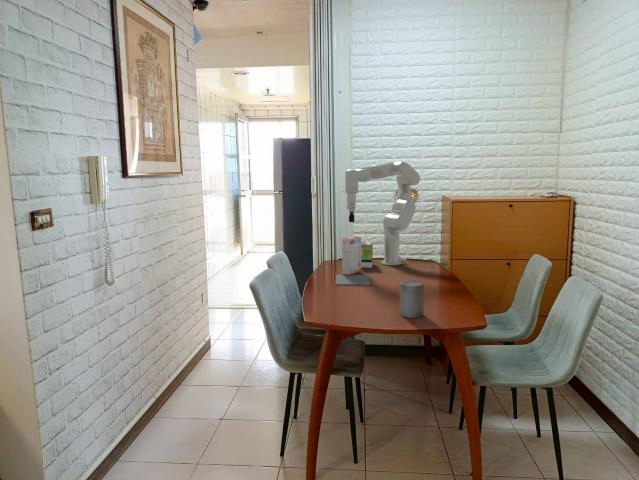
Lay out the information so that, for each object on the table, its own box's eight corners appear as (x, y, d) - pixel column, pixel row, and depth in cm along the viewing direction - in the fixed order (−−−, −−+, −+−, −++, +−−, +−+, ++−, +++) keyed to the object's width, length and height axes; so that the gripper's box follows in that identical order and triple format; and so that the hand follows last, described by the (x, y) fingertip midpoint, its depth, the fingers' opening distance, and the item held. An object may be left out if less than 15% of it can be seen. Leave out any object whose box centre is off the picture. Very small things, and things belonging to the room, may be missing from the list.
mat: (367, 275, 266) (367, 274, 266) (370, 285, 244) (370, 284, 244) (336, 275, 267) (336, 274, 267) (335, 285, 245) (335, 284, 245)
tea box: (372, 267, 288) (373, 244, 285) (356, 268, 288) (356, 244, 286) (370, 263, 303) (370, 240, 300) (355, 263, 303) (355, 240, 301)
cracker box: (352, 271, 278) (352, 236, 276) (361, 272, 275) (361, 236, 273) (341, 274, 266) (341, 238, 264) (350, 275, 263) (351, 238, 261)
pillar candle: (420, 311, 199) (420, 276, 196) (426, 318, 189) (426, 281, 187) (397, 311, 198) (397, 277, 196) (402, 318, 189) (402, 282, 187)
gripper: (345, 190, 284) (345, 220, 286) (345, 191, 268) (345, 223, 271) (357, 190, 283) (357, 220, 286) (358, 191, 268) (358, 223, 271)
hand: (351, 221), depth 278 cm, fingers closed
